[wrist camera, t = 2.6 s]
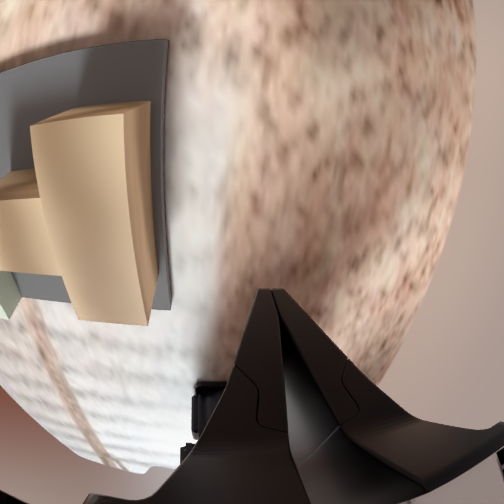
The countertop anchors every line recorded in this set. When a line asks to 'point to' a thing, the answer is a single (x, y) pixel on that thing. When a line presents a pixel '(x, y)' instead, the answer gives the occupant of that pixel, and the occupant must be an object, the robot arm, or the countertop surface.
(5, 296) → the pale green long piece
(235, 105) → the countertop surface
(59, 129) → the tee block
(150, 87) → the mat
